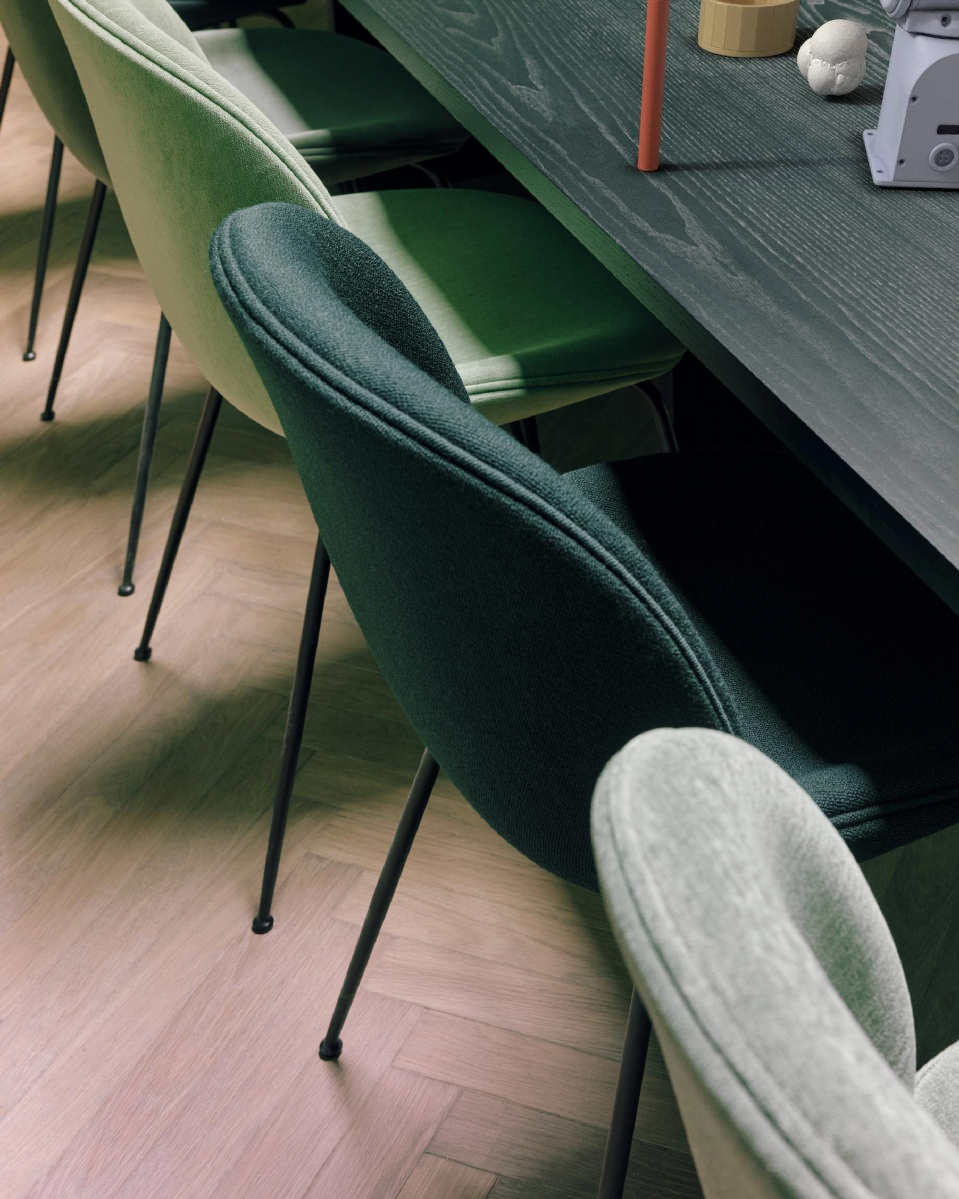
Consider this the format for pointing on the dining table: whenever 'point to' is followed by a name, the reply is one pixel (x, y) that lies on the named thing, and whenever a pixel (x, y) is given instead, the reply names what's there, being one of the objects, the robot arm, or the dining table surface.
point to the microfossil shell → (834, 58)
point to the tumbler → (747, 27)
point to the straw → (653, 83)
